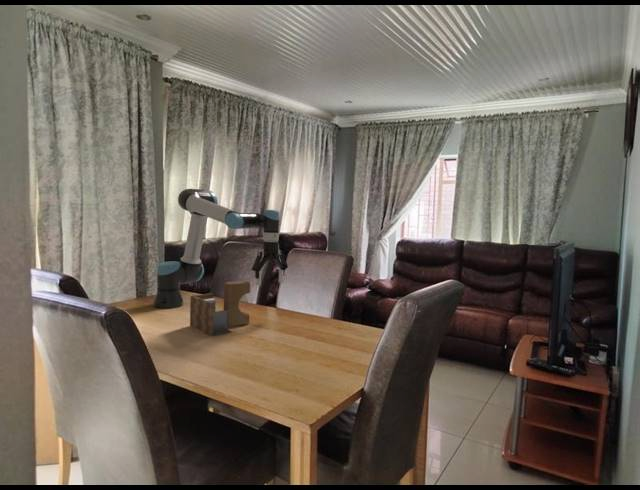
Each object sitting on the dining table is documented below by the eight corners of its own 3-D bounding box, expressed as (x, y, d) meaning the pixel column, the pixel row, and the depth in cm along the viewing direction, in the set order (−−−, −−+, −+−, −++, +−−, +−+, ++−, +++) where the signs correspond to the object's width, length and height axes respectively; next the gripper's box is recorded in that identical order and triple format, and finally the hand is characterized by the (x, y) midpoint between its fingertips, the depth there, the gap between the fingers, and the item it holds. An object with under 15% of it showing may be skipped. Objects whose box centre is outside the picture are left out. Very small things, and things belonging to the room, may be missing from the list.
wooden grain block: (190, 325, 189) (190, 295, 188) (211, 322, 196) (211, 293, 195) (209, 336, 175) (210, 303, 174) (231, 332, 182) (231, 300, 181)
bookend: (207, 333, 180) (207, 312, 179) (226, 329, 186) (226, 309, 185) (212, 335, 176) (213, 315, 175) (231, 332, 182) (232, 312, 181)
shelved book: (195, 326, 188) (195, 300, 187) (211, 323, 194) (212, 298, 193) (198, 327, 186) (198, 301, 185) (215, 325, 192) (215, 299, 191)
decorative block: (245, 321, 200) (246, 280, 198) (249, 324, 195) (250, 282, 193) (222, 324, 194) (223, 282, 192) (226, 327, 189) (227, 284, 187)
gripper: (253, 242, 192) (252, 287, 194) (295, 241, 209) (294, 282, 211) (245, 241, 198) (244, 284, 199) (286, 239, 215) (285, 280, 216)
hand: (269, 283), depth 205 cm, fingers open, 13 cm apart
